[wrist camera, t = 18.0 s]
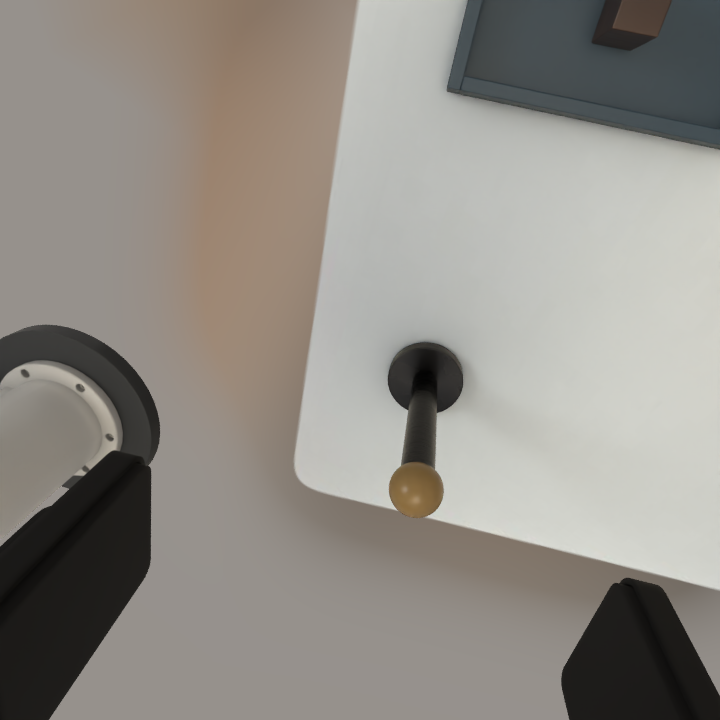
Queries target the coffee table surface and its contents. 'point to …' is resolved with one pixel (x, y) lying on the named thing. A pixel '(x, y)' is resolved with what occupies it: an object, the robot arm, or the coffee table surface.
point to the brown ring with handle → (630, 22)
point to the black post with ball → (421, 422)
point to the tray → (595, 66)
